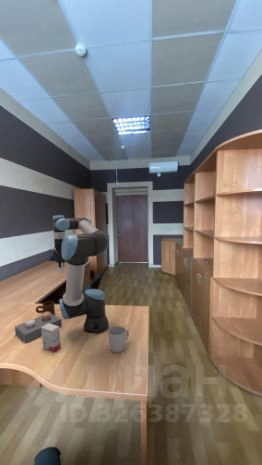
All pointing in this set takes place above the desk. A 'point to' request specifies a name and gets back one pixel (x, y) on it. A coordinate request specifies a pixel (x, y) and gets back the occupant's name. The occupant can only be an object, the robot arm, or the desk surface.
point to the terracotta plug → (46, 316)
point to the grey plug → (30, 323)
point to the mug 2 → (117, 338)
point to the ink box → (51, 337)
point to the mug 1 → (47, 307)
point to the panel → (35, 328)
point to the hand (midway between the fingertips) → (61, 271)
